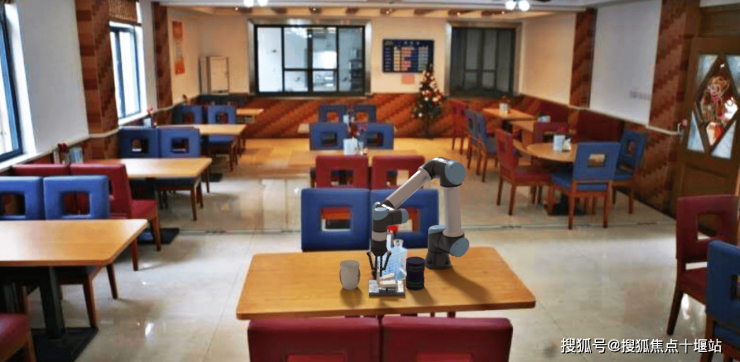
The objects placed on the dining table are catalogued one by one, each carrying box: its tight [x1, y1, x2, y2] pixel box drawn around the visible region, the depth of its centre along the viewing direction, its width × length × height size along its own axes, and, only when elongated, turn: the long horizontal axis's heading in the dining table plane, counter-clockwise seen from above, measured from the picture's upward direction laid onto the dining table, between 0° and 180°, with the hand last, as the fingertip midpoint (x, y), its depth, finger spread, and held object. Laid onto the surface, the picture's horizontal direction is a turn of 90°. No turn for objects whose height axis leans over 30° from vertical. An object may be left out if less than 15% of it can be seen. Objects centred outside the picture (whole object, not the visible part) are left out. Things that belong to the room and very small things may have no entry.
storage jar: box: [405, 256, 426, 292], centre depth 298 cm, size 10×10×15 cm
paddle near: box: [378, 279, 396, 288], centre depth 291 cm, size 9×4×2 cm, turn 89°
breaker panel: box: [368, 279, 406, 297], centre depth 295 cm, size 18×15×4 cm
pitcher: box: [338, 259, 361, 291], centre depth 298 cm, size 11×18×14 cm, turn 1°
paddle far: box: [380, 272, 396, 281], centre depth 298 cm, size 9×4×2 cm, turn 89°
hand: (377, 282), depth 290 cm, fingers closed
